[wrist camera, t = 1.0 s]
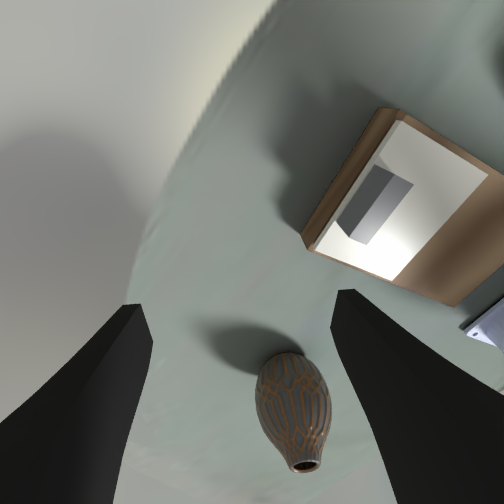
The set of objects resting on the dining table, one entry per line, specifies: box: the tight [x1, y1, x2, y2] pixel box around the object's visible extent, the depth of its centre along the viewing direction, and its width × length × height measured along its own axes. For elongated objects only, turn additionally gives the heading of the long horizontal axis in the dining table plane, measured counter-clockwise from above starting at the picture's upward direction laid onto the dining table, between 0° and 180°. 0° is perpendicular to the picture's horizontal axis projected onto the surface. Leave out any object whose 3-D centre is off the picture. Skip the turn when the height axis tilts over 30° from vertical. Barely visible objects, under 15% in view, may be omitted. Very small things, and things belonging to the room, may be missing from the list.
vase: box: [255, 353, 332, 473], centre depth 23 cm, size 7×7×9 cm
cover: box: [313, 120, 488, 281], centre depth 14 cm, size 6×8×2 cm
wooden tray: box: [300, 108, 504, 307], centre depth 18 cm, size 14×9×2 cm, turn 65°
